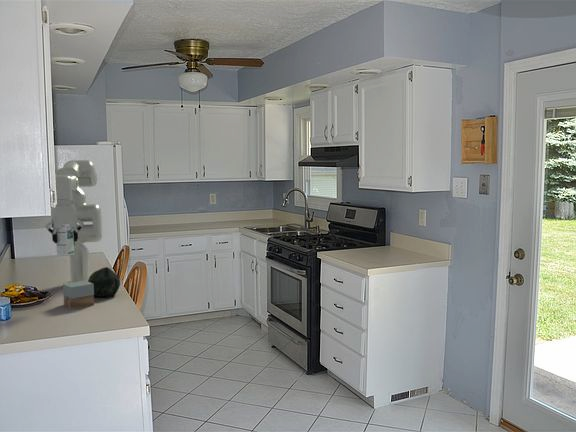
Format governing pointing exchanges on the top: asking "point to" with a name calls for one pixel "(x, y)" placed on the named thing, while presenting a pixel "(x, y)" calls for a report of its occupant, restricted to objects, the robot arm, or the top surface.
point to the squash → (105, 282)
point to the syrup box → (65, 241)
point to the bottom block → (78, 301)
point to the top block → (78, 289)
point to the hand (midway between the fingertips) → (65, 241)
